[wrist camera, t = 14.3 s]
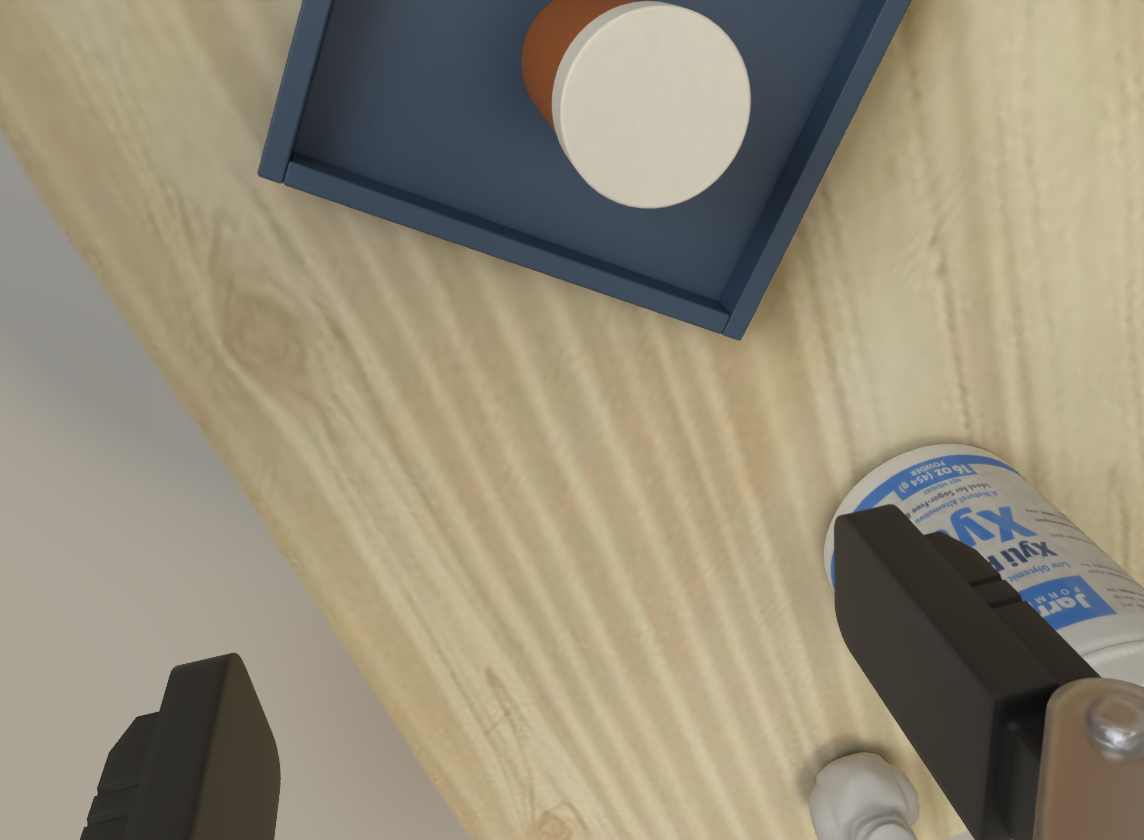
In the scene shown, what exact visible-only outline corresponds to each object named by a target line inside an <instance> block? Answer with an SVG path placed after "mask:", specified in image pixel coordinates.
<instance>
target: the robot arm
mask: <svg viewBox="0 0 1144 840" xmlns="http://www.w3.org/2000/svg"><path fill="white" fill-rule="evenodd" d="M834 586H835V611H836V617H837V621H838V625H839V628H840V631H841V634H842V637H843V639H844V641H845V643H846V645H847V647H848V649H849V651H850V652H851V654H852V655H853V657H854V658H855V660H856V661H857V663H858V664H859V666H860V667H861V669H862V670H863V672H864V673H865V675H866V676H867V678H868V679H869V681H870V682H871V684H872V686H873V687H874V689H875V690H876V692H877V693H878V695H879V696H880V698H881V699H882V701H883V702H884V704H885V705H886V707H887V708H888V710H889V711H890V713H891V714H892V716H893V717H894V719H895V720H896V722H897V723H898V725H899V726H900V728H901V729H902V731H903V732H904V734H905V735H906V737H907V738H908V740H909V741H910V743H911V744H912V746H913V747H914V749H915V750H916V752H917V753H918V755H919V756H920V758H921V759H922V761H923V762H924V764H925V765H926V767H927V768H928V770H929V771H930V773H931V774H932V776H933V777H934V779H935V780H936V782H937V783H938V785H939V786H940V788H941V789H942V791H943V792H944V794H945V795H946V797H947V799H948V800H949V802H950V803H951V805H952V806H953V808H954V809H955V811H956V812H957V814H958V815H959V817H960V818H961V820H962V821H963V823H964V824H965V826H966V827H967V829H968V830H969V832H970V833H971V835H972V836H973V838H974V839H975V840H1144V687H1142V686H1140V685H1137V684H1134V683H1131V682H1127V681H1123V680H1118V679H1111V678H1102V677H1101V676H1100V675H1099V674H1098V673H1097V672H1096V671H1095V670H1094V669H1093V668H1092V667H1091V666H1090V665H1089V664H1088V663H1087V662H1086V661H1085V660H1084V659H1083V658H1082V657H1081V656H1080V655H1079V654H1078V653H1077V652H1076V651H1075V650H1074V649H1073V648H1072V647H1071V646H1070V645H1069V644H1068V643H1067V642H1066V641H1065V640H1064V639H1063V638H1062V636H1061V635H1060V634H1059V633H1058V632H1057V631H1056V630H1055V629H1054V628H1053V627H1052V626H1051V625H1050V624H1049V623H1048V622H1047V621H1046V620H1045V619H1044V618H1043V617H1042V616H1041V615H1040V614H1039V613H1038V612H1037V611H1036V610H1035V609H1034V608H1033V607H1032V606H1031V605H1030V604H1029V603H1028V602H1027V601H1023V600H1022V598H1021V595H1020V594H1019V593H1018V592H1017V591H1016V590H1015V589H1014V588H1013V587H1012V586H1011V585H1010V584H1009V583H1008V582H1007V581H1006V580H1002V578H1001V574H1000V573H999V572H998V571H997V570H996V569H995V568H994V567H993V566H992V565H991V564H990V563H989V562H988V561H987V560H986V559H985V558H984V557H983V556H982V555H981V554H980V553H979V552H978V551H977V550H976V549H974V548H972V547H970V546H968V545H966V544H964V543H962V542H960V541H958V540H957V539H955V538H953V537H951V536H949V535H947V534H945V533H943V532H941V531H938V532H934V533H929V534H925V535H923V534H922V533H921V531H920V530H919V529H918V528H917V527H916V526H915V525H914V524H913V523H912V522H911V521H910V519H909V518H908V517H907V516H906V515H905V514H904V513H903V512H902V511H901V510H900V509H899V508H898V507H897V506H895V505H893V504H887V505H883V506H878V507H874V508H870V509H865V510H861V511H857V512H852V513H848V514H843V515H839V516H838V517H837V518H836V520H835V524H834ZM280 779H281V777H280V763H279V756H278V751H277V747H276V742H275V739H274V736H273V733H272V731H271V729H270V726H269V724H268V721H267V719H266V716H265V714H264V711H263V709H262V707H261V704H260V702H259V699H258V697H257V694H256V692H255V689H254V687H253V684H252V682H251V679H250V677H249V675H248V672H247V670H246V667H245V665H244V663H243V661H242V659H241V657H240V656H239V655H238V654H237V653H231V654H226V655H221V656H217V657H213V658H209V659H204V660H200V661H195V662H191V663H187V664H182V665H178V666H176V667H174V668H173V669H172V671H171V673H170V676H169V680H168V683H167V687H166V690H165V694H164V697H163V701H162V704H161V708H160V711H159V712H155V713H151V714H147V715H143V716H138V717H136V718H135V720H134V721H133V722H132V724H131V725H130V726H129V728H128V729H127V730H126V731H125V733H124V734H123V735H122V737H121V738H120V739H119V741H118V742H117V743H116V744H115V746H114V747H113V748H112V749H111V751H110V752H109V754H108V758H107V760H106V763H105V766H104V770H103V772H102V776H101V778H100V781H99V784H98V787H97V791H98V796H95V797H94V799H93V802H92V805H91V808H90V811H89V814H88V818H87V822H88V826H87V827H84V830H83V832H82V835H81V838H80V840H274V836H275V828H276V819H277V811H278V802H279V794H280Z"/></svg>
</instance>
